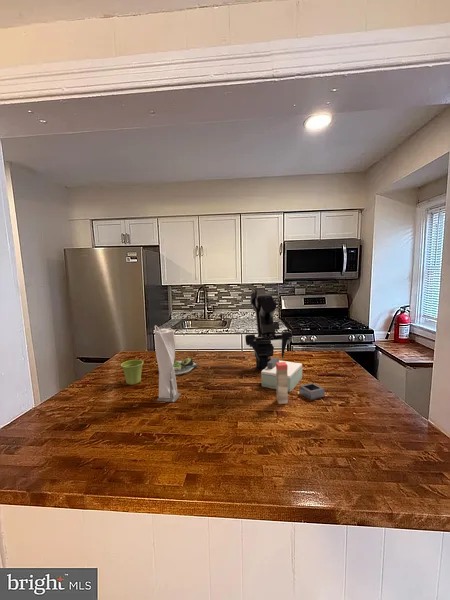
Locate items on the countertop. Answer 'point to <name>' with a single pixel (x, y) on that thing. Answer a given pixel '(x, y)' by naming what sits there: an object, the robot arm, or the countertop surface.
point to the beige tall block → (281, 382)
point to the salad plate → (183, 366)
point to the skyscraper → (166, 364)
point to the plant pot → (132, 371)
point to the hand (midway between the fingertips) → (270, 359)
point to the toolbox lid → (271, 367)
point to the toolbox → (292, 382)
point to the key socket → (311, 391)
